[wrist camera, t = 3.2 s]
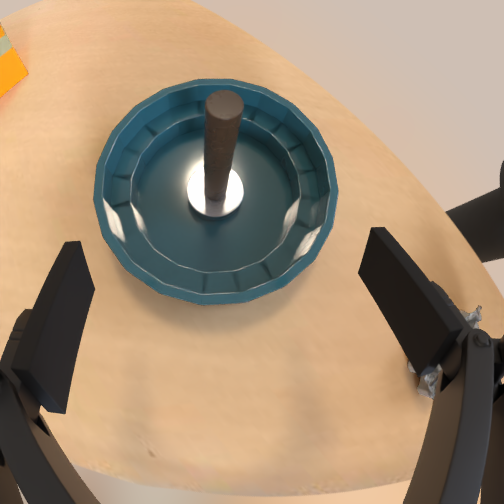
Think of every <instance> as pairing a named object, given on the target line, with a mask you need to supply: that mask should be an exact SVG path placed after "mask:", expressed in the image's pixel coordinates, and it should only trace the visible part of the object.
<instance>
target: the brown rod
mask: <svg viewBox="0 0 504 504" xmlns="http://www.w3.org/2000/svg"><path fill="white" fill-rule="evenodd" d="M243 109H244V102H243V100H242V98H241V97H240V96H239V95H238V94H237V93H235V92H233V91H229V90H219V91H216V92H213V93H212V94H210V95H209V96H208V98H207V99H206V101H205V120H204V166H203V167H201V168H199V169H198V170H197V171H195V172H194V173H193V175H192V176H191V177H190V179H189V181H188V184H187V198H188V203H189V206H190V208H191V209H192V211H193V212H194V213H195V214H196V215H197V216H199V217H200V218H202V219H204V220H208V221H222V220H225V219H227V218H229V217H231V216H232V215H233V214H235V212H236V211H237V210H238V209H239V207H240V205H241V202H242V199H243V195H244V186H243V182H242V180H241V178H240V176H239V175H238V174H237V173H236V172H235V171H234V170H233V169H231V167H232V162H233V157H234V152H235V147H236V142H237V137H238V132H239V128H240V123H241V118H242V114H243Z"/></svg>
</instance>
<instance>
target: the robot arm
mask: <svg viewBox="0 0 504 504" xmlns="http://www.w3.org/2000/svg"><path fill="white" fill-rule="evenodd" d="M358 274H359V276H360V277H361V279H362V280H363V282H364V284H365V285H366V287H367V289H368V290H369V292H370V293H371V295H372V297H373V298H374V300H375V302H376V303H377V305H378V307H379V308H380V310H381V312H382V314H383V315H384V317H385V319H386V320H387V322H388V324H389V326H390V327H391V329H392V331H393V333H394V334H395V336H396V338H397V340H398V341H399V343H400V345H401V347H402V349H403V350H404V352H405V354H406V356H407V358H408V360H409V361H410V363H411V365H412V367H413V369H414V371H415V373H416V375H417V376H418V377H421V376H424V375H427V374H430V373H432V372H433V371H434V370H435V368H436V367H437V366H438V364H439V365H440V366H441V368H442V370H441V371H440V372H439V374H438V375H437V376H436V377H435V379H434V380H433V381H432V383H431V385H430V386H433V385H434V384H435V383H436V381H437V386H436V387H435V388H436V391H435V396H434V401H433V406H432V410H431V415H430V419H429V423H428V427H427V431H426V435H425V438H424V442H423V445H422V449H421V452H420V456H419V459H418V462H417V465H416V468H415V471H414V474H413V477H412V480H411V483H410V486H409V488H408V491H407V494H406V496H405V499H404V501H403V504H477V501H478V497H479V493H480V488H481V503H480V504H504V384H502V382H501V379H502V378H503V376H504V335H503V337H502V338H501V339H493V338H491V337H490V336H489V335H488V334H487V333H486V332H485V331H483V330H481V329H477V328H475V329H472V328H471V326H470V325H469V323H468V322H467V321H466V319H465V318H464V316H463V315H462V314H461V312H460V311H459V310H458V308H457V307H456V306H455V305H454V303H453V302H452V300H451V299H450V298H449V296H448V295H447V294H446V293H445V291H444V290H443V289H442V288H441V287H440V286H439V285H437V284H436V283H435V282H433V281H431V282H430V281H429V280H428V278H427V277H426V276H425V275H424V273H423V272H422V271H421V270H420V268H419V267H418V266H417V265H416V263H415V262H414V261H413V260H412V259H411V257H410V256H409V255H408V254H407V253H406V251H405V250H404V249H403V248H402V247H401V246H400V244H399V243H398V242H397V241H396V240H395V239H394V237H393V236H392V235H391V234H390V233H389V232H388V231H387V229H386V228H385V227H371V230H370V234H369V238H368V241H367V245H366V248H365V252H364V255H363V258H362V262H361V265H360V268H359V271H358ZM94 291H95V287H94V284H93V281H92V278H91V275H90V272H89V269H88V266H87V263H86V259H85V256H84V252H83V249H82V245H81V242H80V241H71V242H65V243H64V245H63V247H62V249H61V251H60V253H59V255H58V256H57V258H56V260H55V262H54V264H53V266H52V268H51V270H50V272H49V274H48V276H47V278H46V280H45V283H44V285H43V287H42V289H41V291H40V293H39V296H38V298H37V300H36V302H35V305H34V307H33V309H25V310H24V311H23V312H22V313H21V315H20V316H19V317H18V318H17V320H16V322H15V325H14V327H13V331H12V332H11V334H10V337H9V340H8V342H7V344H6V347H5V350H4V352H3V355H2V358H1V360H0V504H23V501H22V498H21V495H20V492H19V489H18V486H19V488H20V490H21V492H22V494H23V495H24V497H25V499H26V500H27V502H28V504H100V502H99V501H98V500H97V499H96V497H95V496H94V495H93V494H92V492H91V491H90V490H89V488H88V487H87V486H86V484H85V483H84V482H83V480H82V479H81V477H80V476H79V475H78V473H77V472H76V470H75V469H74V467H73V466H72V464H71V463H70V461H69V460H68V458H67V457H66V455H65V454H64V452H63V451H62V449H61V447H60V446H59V444H58V443H57V441H56V439H55V438H54V436H53V434H52V432H51V431H50V429H49V427H48V425H47V424H46V422H45V420H44V418H43V416H42V415H41V414H40V413H39V411H40V406H41V405H42V406H43V407H44V408H45V409H46V410H47V411H48V412H53V413H60V414H66V408H67V402H68V397H69V391H70V386H71V381H72V376H73V371H74V367H75V362H76V358H77V353H78V349H79V345H80V341H81V337H82V333H83V329H84V326H85V322H86V318H87V315H88V311H89V308H90V304H91V301H92V298H93V294H94ZM17 484H18V485H17Z"/></svg>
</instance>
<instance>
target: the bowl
mask: <svg viewBox="0 0 504 504" xmlns="http://www.w3.org/2000/svg"><path fill="white" fill-rule="evenodd" d="M219 90H229V91H233V92H235V93H237V94H238V95H239V96H240V97H241V98H242V100H243V102H244V109H243V114H242V118H241V123H240V128H239V132H238V137H237V142H236V147H235V152H234V157H233V162H232V167H231V169H233V170H234V171H235V172H236V173H237V174H238V175H239V176H240V178H241V180H242V182H243V186H244V195H243V199H242V202H241V205H240V207H239V209H238V210H237V211H236V212H235V214H233V215H232V216H231V217H229V218H227V219H225V220H222V221H208V220H204V219H202V218H200V217H199V216H197V215H196V214H195V213H194V212H193V211H192V209H191V208H190V206H189V203H188V198H187V184H188V181H189V179H190V177H191V176H192V175H193V173H194V172H195V171H197V170H198V169H199V168H201V167H203V166H204V120H205V101H206V99H207V98H208V96H209V95H210V94H212V93H213V92H216V91H219ZM337 199H338V185H337V179H336V173H335V167H334V162H333V157H332V155H331V153H330V151H329V149H328V147H327V145H326V144H325V142H324V140H323V138H322V136H321V134H320V132H319V130H318V129H317V127H316V126H315V125H314V124H313V123H312V122H311V121H310V120H309V119H308V118H307V117H306V116H305V115H304V114H303V113H302V112H301V111H300V110H299V109H298V108H297V107H296V106H295V105H293V103H291V102H289V101H288V100H286V99H284V98H283V97H281V96H279V95H277V94H275V93H274V92H272V91H270V90H268V89H266V88H264V87H261V86H257V85H254V84H250V83H246V82H242V81H238V80H234V79H197V80H193V81H189V82H185V83H182V84H178V85H175V86H171V87H168V88H165V89H162V90H161V91H159V92H157V93H156V94H154V95H152V96H151V97H149V98H147V99H146V100H144V101H143V102H141V103H139V104H138V105H136V106H135V107H134V108H133V109H132V110H131V111H130V112H129V113H128V114H127V115H126V116H125V117H124V118H123V120H122V121H121V122H120V123H119V124H118V125H117V126H116V127H115V129H114V130H113V131H112V133H111V134H110V136H109V138H108V140H107V143H106V145H105V147H104V149H103V151H102V154H101V156H100V158H99V160H98V163H97V166H96V175H95V185H94V197H93V200H94V205H95V209H96V213H97V217H98V221H99V225H100V229H101V232H102V236H103V238H104V240H105V241H106V243H107V244H108V245H109V247H110V248H111V250H112V251H113V253H114V254H115V256H116V257H117V258H118V260H119V261H120V263H121V264H122V266H123V267H124V268H125V269H126V270H127V271H128V272H129V273H131V274H132V275H134V276H135V277H136V278H138V279H139V280H141V281H142V282H144V283H145V284H146V285H148V286H149V287H151V288H152V289H154V290H155V291H157V292H158V293H160V294H162V295H166V296H169V297H173V298H177V299H180V300H184V301H187V302H191V303H195V304H198V305H220V304H236V303H246V302H249V301H251V300H254V299H256V298H259V297H261V296H263V295H266V294H268V293H271V292H273V291H276V290H278V289H280V288H283V287H284V286H286V285H287V284H288V283H289V282H291V281H292V280H293V279H294V278H295V277H296V276H297V275H299V274H300V273H301V272H302V271H303V270H304V269H305V268H306V267H308V266H309V265H310V264H311V263H312V262H313V261H314V260H315V259H316V257H317V255H318V253H319V252H320V250H321V248H322V246H323V244H324V243H325V241H326V239H327V237H328V235H329V233H330V232H331V230H332V228H333V223H334V217H335V211H336V205H337Z"/></svg>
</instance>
